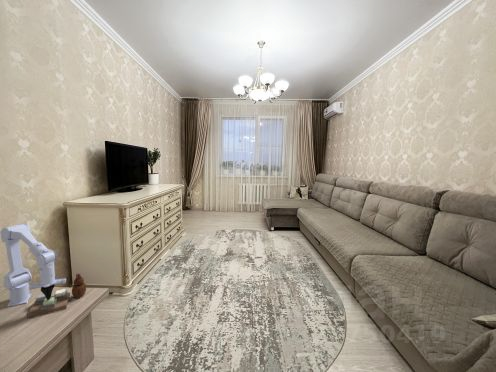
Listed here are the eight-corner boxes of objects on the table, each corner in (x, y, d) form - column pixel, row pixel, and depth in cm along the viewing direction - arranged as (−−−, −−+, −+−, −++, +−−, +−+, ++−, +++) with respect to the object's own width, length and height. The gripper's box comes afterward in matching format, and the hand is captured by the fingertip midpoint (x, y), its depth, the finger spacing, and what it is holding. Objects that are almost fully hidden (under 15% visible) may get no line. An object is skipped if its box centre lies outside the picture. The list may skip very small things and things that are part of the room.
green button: (45, 302, 119) (44, 299, 118) (54, 300, 121) (54, 296, 121) (43, 307, 115) (42, 303, 115) (53, 304, 117) (53, 300, 117)
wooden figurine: (78, 300, 127) (77, 275, 125) (69, 298, 128) (68, 274, 127) (88, 293, 133) (87, 270, 132) (80, 292, 135) (79, 268, 133)
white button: (56, 294, 127) (56, 290, 126) (65, 292, 129) (65, 288, 128) (55, 297, 123) (55, 294, 123) (64, 295, 125) (64, 292, 125)
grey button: (39, 298, 123) (38, 294, 122) (48, 296, 125) (48, 292, 124) (37, 301, 119) (36, 298, 119) (47, 299, 121) (46, 295, 121)
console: (36, 303, 123) (35, 296, 123) (70, 295, 131) (69, 289, 131) (28, 318, 111) (27, 310, 111) (66, 308, 119) (65, 301, 119)
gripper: (26, 281, 109) (27, 307, 111) (63, 274, 117) (65, 298, 118) (30, 275, 115) (32, 299, 116) (66, 269, 123) (67, 292, 124)
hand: (48, 298), depth 118 cm, fingers closed
